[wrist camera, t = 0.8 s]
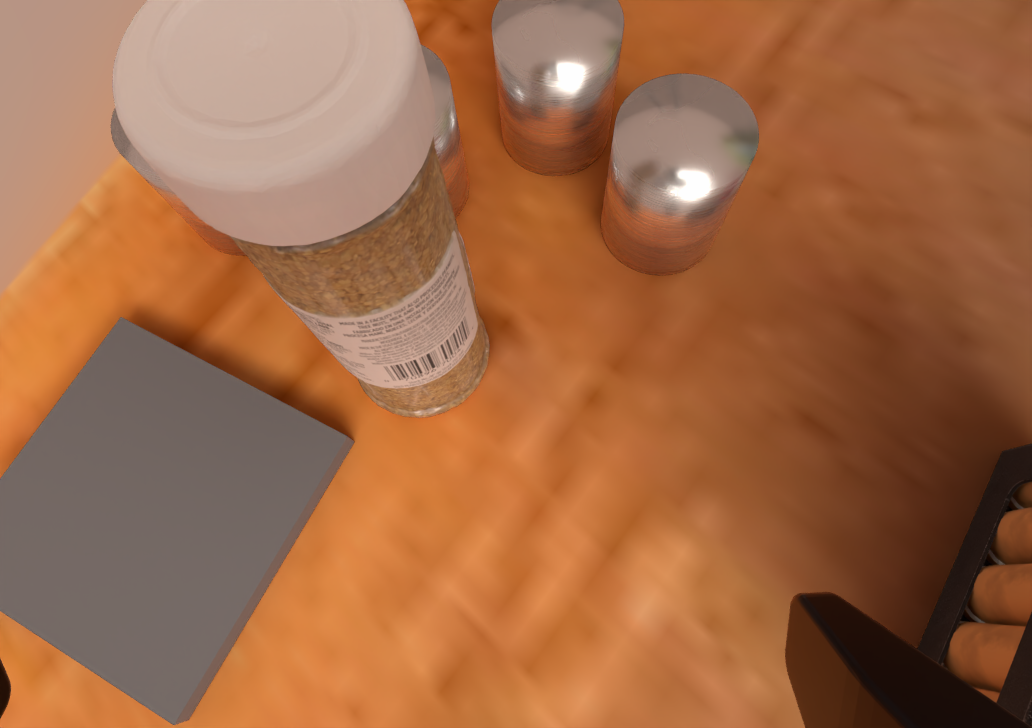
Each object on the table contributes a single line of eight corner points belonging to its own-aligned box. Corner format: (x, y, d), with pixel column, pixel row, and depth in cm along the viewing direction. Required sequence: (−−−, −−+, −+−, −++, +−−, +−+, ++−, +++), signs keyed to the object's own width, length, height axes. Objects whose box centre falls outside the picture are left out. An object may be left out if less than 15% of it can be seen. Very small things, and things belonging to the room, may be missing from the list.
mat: (188, 720, 19) (173, 725, 18) (-44, 568, 21) (-66, 567, 20) (354, 441, 21) (347, 436, 21) (134, 326, 23) (121, 316, 22)
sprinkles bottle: (470, 278, 23) (377, -107, 10) (507, 399, 22) (452, 125, 9) (342, 315, 23) (84, -32, 10) (370, 440, 21) (111, 218, 9)
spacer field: (617, 444, 21) (637, 401, 16) (173, 228, 24) (83, 140, 19) (753, 157, 24) (804, 52, 19) (345, 1, 27) (303, -123, 23)
